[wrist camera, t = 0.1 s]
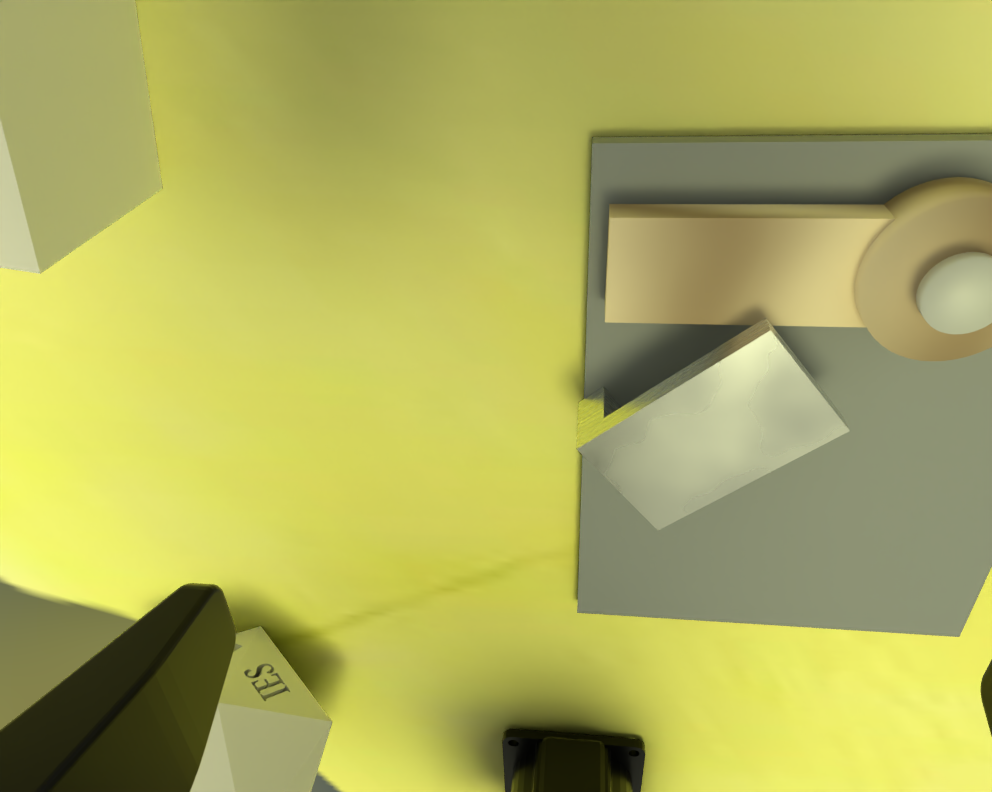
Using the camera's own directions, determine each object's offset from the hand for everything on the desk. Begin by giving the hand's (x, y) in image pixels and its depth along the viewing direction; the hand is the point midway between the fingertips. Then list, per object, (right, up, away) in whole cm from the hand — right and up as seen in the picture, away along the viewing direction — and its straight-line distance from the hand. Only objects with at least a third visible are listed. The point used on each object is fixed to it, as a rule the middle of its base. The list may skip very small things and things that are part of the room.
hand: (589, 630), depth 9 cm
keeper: (+5, +3, +14) cm, 16 cm away
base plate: (+9, +2, +15) cm, 18 cm away
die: (-12, -10, +26) cm, 31 cm away
